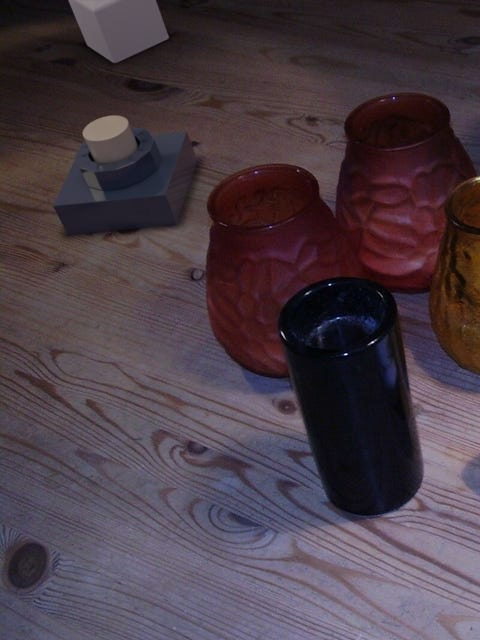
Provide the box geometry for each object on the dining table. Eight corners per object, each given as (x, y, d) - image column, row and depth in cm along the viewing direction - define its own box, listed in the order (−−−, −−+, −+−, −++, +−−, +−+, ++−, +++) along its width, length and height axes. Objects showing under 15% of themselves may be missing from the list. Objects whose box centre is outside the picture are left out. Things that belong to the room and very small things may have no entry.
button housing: (70, 241, 90) (43, 187, 85) (98, 176, 97) (74, 123, 92) (179, 231, 89) (157, 175, 85) (199, 166, 96) (180, 112, 92)
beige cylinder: (88, 167, 88) (77, 142, 86) (99, 142, 90) (89, 117, 89) (132, 163, 87) (122, 138, 86) (142, 137, 90) (132, 113, 88)
